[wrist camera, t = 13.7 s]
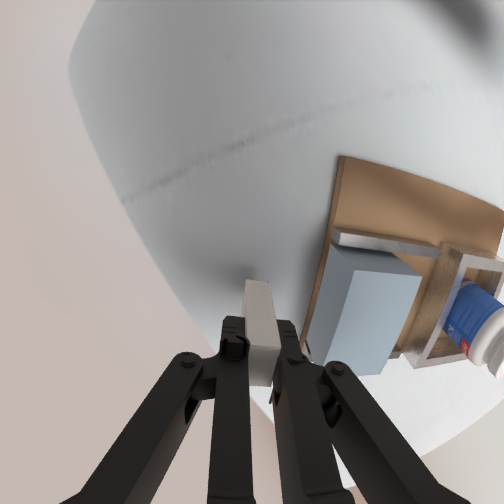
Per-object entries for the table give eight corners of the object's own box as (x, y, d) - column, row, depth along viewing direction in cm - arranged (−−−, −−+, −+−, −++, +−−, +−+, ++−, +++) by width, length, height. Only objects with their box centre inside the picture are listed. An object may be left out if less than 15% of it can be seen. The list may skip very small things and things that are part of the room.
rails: (333, 226, 18) (341, 232, 16) (430, 242, 18) (442, 249, 17) (302, 348, 21) (306, 361, 20) (391, 347, 22) (398, 357, 20)
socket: (441, 241, 18) (463, 253, 15) (491, 252, 19) (510, 263, 16) (400, 349, 22) (413, 368, 19) (453, 343, 23) (467, 358, 20)
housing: (330, 243, 18) (354, 270, 14) (390, 251, 18) (422, 276, 14) (306, 338, 21) (318, 377, 16) (360, 339, 21) (380, 374, 17)
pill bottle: (421, 313, 21) (481, 381, 11) (454, 264, 19) (527, 318, 10) (446, 329, 22) (497, 388, 12) (475, 288, 20) (535, 337, 11)
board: (339, 155, 17) (345, 156, 16) (499, 209, 19) (506, 212, 17) (298, 347, 23) (300, 355, 21) (453, 340, 24) (458, 346, 23)
